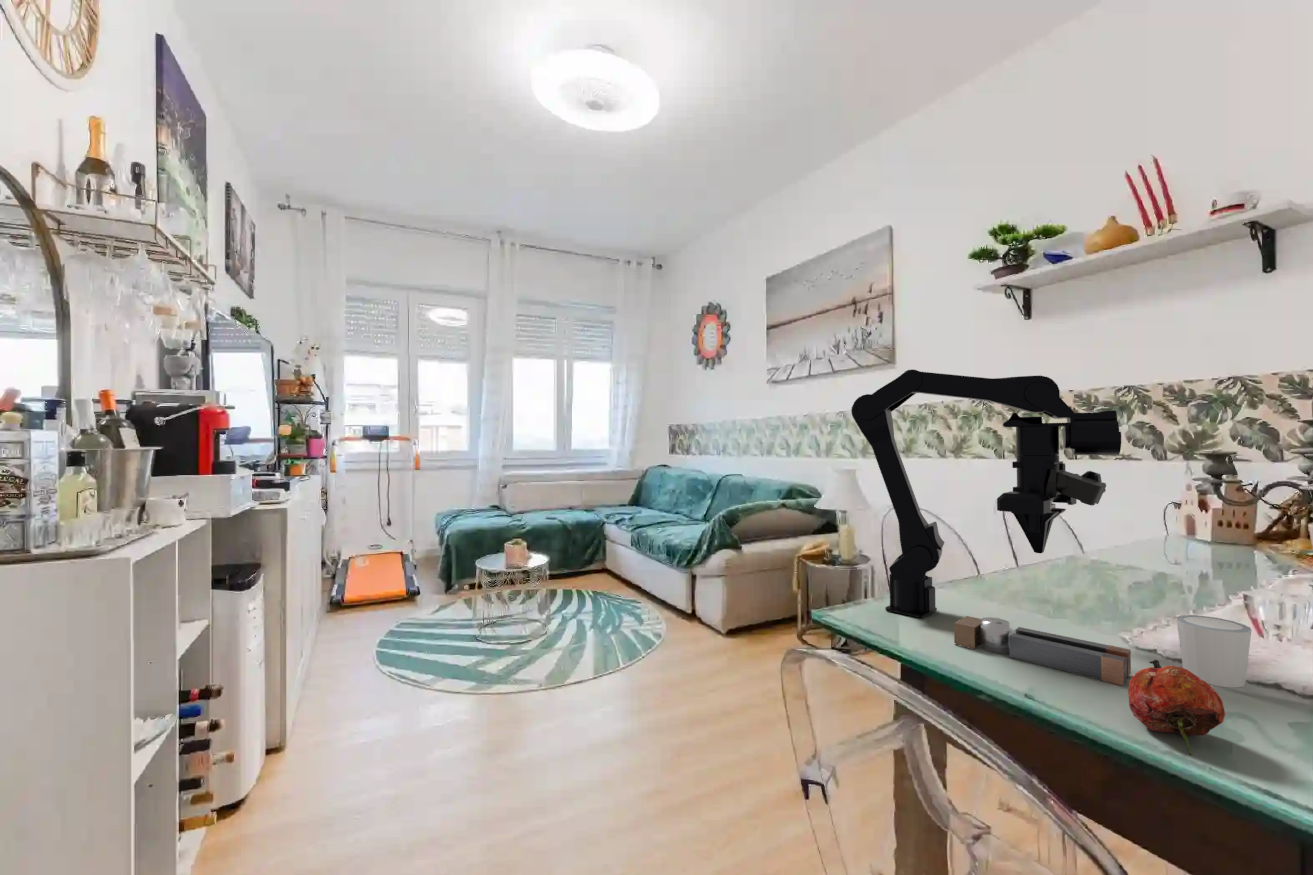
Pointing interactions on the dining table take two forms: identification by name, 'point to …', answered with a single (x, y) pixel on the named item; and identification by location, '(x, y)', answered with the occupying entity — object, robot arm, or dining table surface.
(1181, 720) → the wrinkled red fruit
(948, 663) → the dining table surface
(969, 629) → the frame
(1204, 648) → the white cup
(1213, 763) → the dining table surface
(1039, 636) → the bar
